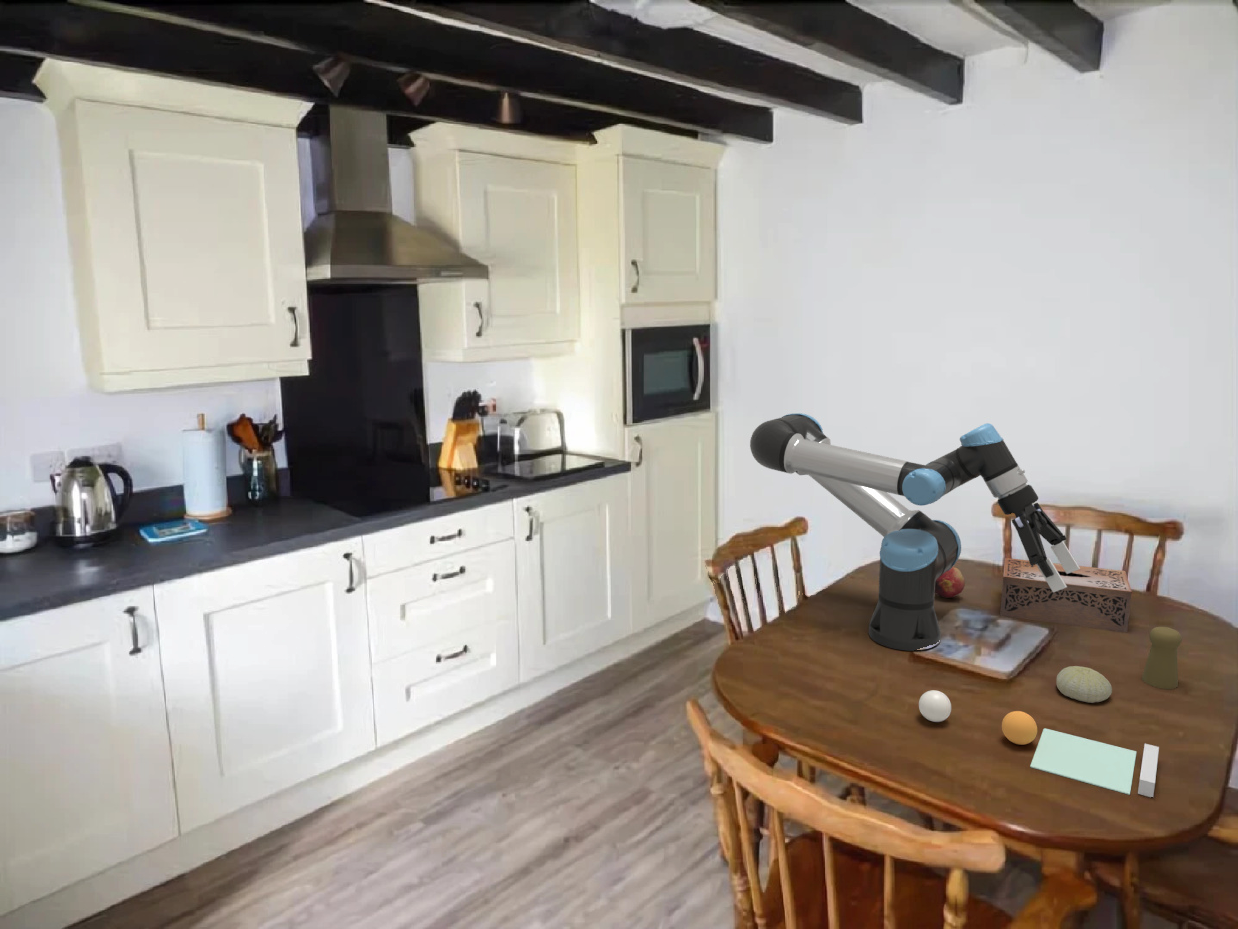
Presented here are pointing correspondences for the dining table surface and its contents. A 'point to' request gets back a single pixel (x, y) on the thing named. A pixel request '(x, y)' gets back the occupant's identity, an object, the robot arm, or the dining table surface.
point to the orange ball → (1019, 727)
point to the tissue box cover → (1067, 596)
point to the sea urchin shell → (1083, 684)
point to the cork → (1162, 658)
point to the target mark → (1085, 760)
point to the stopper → (1148, 770)
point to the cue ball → (935, 706)
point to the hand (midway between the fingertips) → (1067, 580)
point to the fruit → (950, 583)
